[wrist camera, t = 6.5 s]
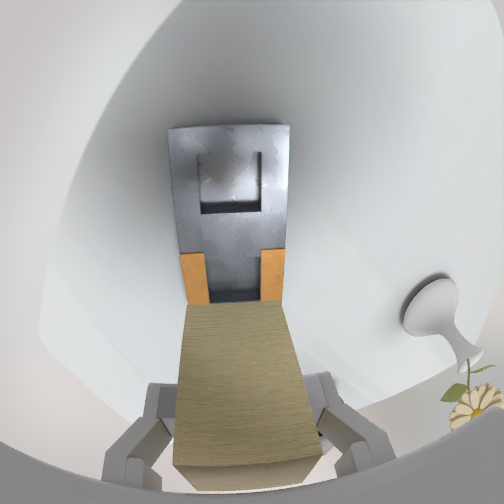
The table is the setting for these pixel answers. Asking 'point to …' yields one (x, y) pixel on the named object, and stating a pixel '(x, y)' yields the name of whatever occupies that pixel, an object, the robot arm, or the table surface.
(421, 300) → the flower in vase
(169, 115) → the table surface
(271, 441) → the brass block
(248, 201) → the rail
